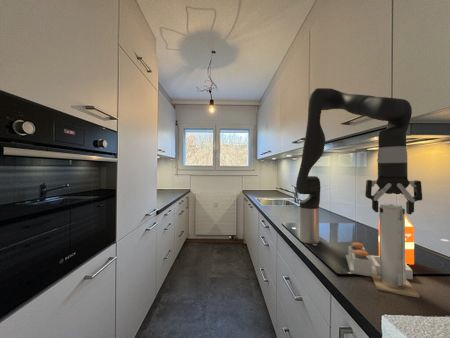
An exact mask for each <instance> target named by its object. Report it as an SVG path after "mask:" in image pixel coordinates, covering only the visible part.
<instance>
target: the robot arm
mask: <svg viewBox="0 0 450 338" xmlns="http://www.w3.org/2000/svg"><path fill="white" fill-rule="evenodd" d="M307 109H308V110H307V112H308V113H307V123H306V130H305V136H304V137H305V138H304V141H303V148H302V155H301V162H300V166H299V171H298V174H297V179H296V182H295V183H296V185H295V189H296V192H297V193H298V194H299V195H308V197H307V198H305V199H303V200H300V202H299V241H301V242H302V243H303V244H304V243H305V244H313V245H314V244H319V243H320V203H321V180H320V178H319V177H318V176H315V175H309V174H310V172H311V169H312V168H313V167H314V165H315V164H317V162H319V160H320V159H321V158H322V156H323V155H324V150H325V145H326V136H325V135H326V134H325V132H324V130H323V128H322V125H321V116H322V111H330V110H344V111H346V112H348V113H350V114H352V115H355V116H356V115H357V116H361V117H367V118H370V119H373V120H377V121H383V122H387V124H386V128H385V129H382V130H380V131H379V132H378V140H377V141H378V143H377V144H378V149H377V150H378V151H377V159H376V162H377V179H376V180H371V179H367V180H366V181H365V198H367V199H369V200H371V208H372V210H373V211H374V213H379V199H380V198H381V197H382V196H384V195H385V194H387V195H391V194H392V195H393V194H394V195H402V196H403V197H404V198H405V199H406V200H407V201H406V202H405V204H406V206H405V208H406V209H405V214H406V215H413V214H412V213H414V212H415V202H418V201H422V200H423V189H422V181H421V180H417V179H416V180H415V179H414V180H409V179H408V151H407V131H408V129H409V126H410V122H411V118H412V113H413V112H412V111H413V109H412V105H411V102H410V101H408V100H407V99H404V98H396V97H387V96H374V95H367V94H355V93H353V94H351V93H346V92H342V91H340V90H337V89H334V88H331V87H330V88H329V87H328V88H321V87H320V88H314V89H313V90H312V91H311V93H310V95H309V100H308V108H307ZM375 185H376V186H377V187H378V189H377V190H376V192H375V193H373V195H372V189H373V187H375ZM409 186H411V188H413V196H412V195H411V194H410V192H409V191H408V189H407V188H408V187H409Z"/></svg>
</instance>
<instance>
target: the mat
mask: <svg viewBox="0 0 450 338" xmlns="http://www.w3.org/2000/svg"><path fill="white" fill-rule="evenodd" d="M370 277H371V279H372V281H373V283H374V285H375V287H376V289H377V291H379V292H386V293H389V294H397V295H400V296H401V295H402V296H407V297H414V298H420V294H419V293H418V292H417V291H416V289H415V288H414V287H413V286H412V285H411V283H410V282H409V279H405V285H406V286H405V288H401V289H398V288H392V287H389V286H386V285H384V284H383V283H381V281H380V275H379V274H377V275H371V276H370Z"/></svg>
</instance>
